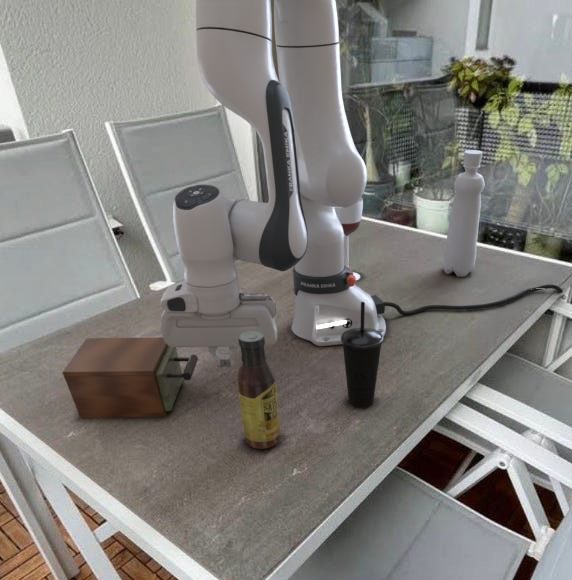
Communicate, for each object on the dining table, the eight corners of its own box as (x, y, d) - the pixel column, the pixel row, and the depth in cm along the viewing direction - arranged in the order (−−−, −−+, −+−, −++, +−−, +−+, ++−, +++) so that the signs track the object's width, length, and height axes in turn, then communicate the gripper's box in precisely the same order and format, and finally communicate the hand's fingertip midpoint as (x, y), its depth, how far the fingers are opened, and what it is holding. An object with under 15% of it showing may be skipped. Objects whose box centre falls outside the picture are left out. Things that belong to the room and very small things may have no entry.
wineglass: (367, 274, 155) (369, 197, 142) (350, 284, 150) (351, 205, 136) (343, 268, 158) (343, 193, 145) (326, 278, 153) (324, 200, 140)
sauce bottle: (274, 453, 95) (262, 349, 81) (240, 448, 96) (223, 344, 82) (285, 431, 99) (276, 329, 86) (253, 427, 100) (238, 325, 87)
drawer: (205, 378, 111) (198, 342, 106) (194, 410, 103) (186, 373, 97) (111, 379, 111) (99, 343, 105) (92, 411, 102) (78, 374, 97)
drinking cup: (340, 391, 109) (339, 294, 96) (377, 390, 110) (382, 293, 97) (342, 413, 104) (342, 312, 90) (382, 411, 104) (387, 311, 91)
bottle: (436, 273, 156) (449, 153, 136) (449, 263, 162) (463, 146, 142) (465, 280, 153) (483, 157, 133) (478, 270, 158) (497, 150, 138)
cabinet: (179, 381, 112) (168, 337, 105) (165, 417, 103) (152, 371, 96) (101, 382, 112) (86, 337, 105) (80, 418, 102) (62, 372, 96)
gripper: (275, 285, 96) (282, 356, 106) (159, 287, 96) (176, 357, 105) (273, 300, 92) (280, 373, 101) (150, 302, 91) (169, 374, 101)
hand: (226, 365), depth 103 cm, fingers closed
